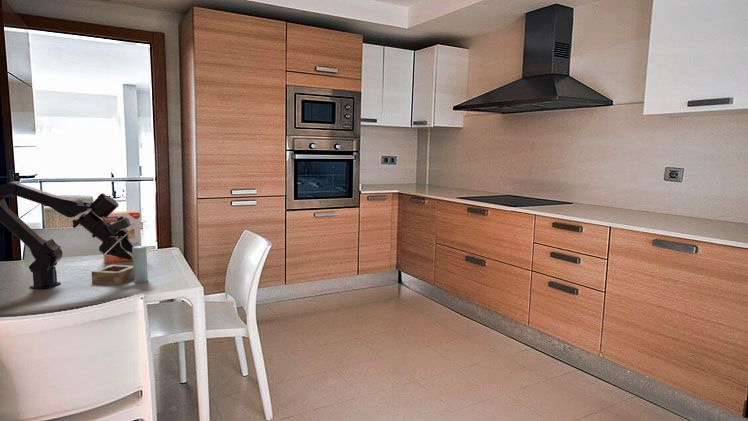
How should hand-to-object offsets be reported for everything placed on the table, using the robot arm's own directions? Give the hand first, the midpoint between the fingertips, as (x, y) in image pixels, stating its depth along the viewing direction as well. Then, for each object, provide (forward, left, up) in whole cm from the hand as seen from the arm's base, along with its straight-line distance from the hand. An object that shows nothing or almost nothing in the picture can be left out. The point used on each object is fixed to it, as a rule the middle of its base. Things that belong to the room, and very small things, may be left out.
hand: (133, 255), depth 167 cm
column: (+1, -2, -9) cm, 10 cm away
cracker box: (+27, +24, -10) cm, 37 cm away
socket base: (+1, +8, -9) cm, 13 cm away
